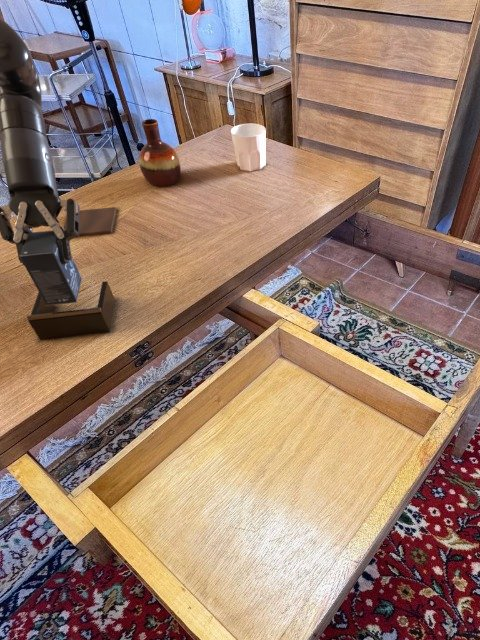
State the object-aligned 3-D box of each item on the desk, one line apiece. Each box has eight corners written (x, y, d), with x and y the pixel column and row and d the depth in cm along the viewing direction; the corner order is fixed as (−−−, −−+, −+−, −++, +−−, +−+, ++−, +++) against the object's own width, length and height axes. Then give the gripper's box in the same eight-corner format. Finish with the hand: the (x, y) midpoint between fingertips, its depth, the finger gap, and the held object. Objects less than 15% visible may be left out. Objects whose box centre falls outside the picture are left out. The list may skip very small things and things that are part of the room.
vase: (148, 173, 131) (132, 114, 119) (185, 172, 132) (173, 113, 120) (141, 190, 124) (123, 130, 112) (180, 189, 125) (167, 129, 113)
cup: (229, 170, 132) (224, 134, 124) (244, 157, 138) (240, 121, 130) (259, 175, 129) (256, 139, 122) (273, 162, 135) (271, 126, 127)
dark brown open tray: (40, 341, 86) (26, 318, 81) (51, 308, 92) (37, 285, 87) (110, 333, 87) (99, 309, 82) (115, 300, 93) (105, 277, 89)
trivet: (62, 239, 109) (60, 235, 108) (70, 215, 116) (68, 211, 116) (112, 234, 110) (110, 230, 109) (116, 210, 118) (115, 207, 117)
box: (77, 302, 82) (52, 252, 74) (46, 306, 82) (17, 256, 74) (83, 278, 87) (60, 228, 79) (53, 281, 87) (27, 231, 78)
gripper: (80, 171, 80) (96, 265, 82) (-2, 177, 79) (15, 273, 81) (62, 151, 73) (80, 255, 75) (-29, 158, 72) (-9, 264, 73)
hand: (46, 264), depth 78 cm, fingers closed on box, 5 cm apart
